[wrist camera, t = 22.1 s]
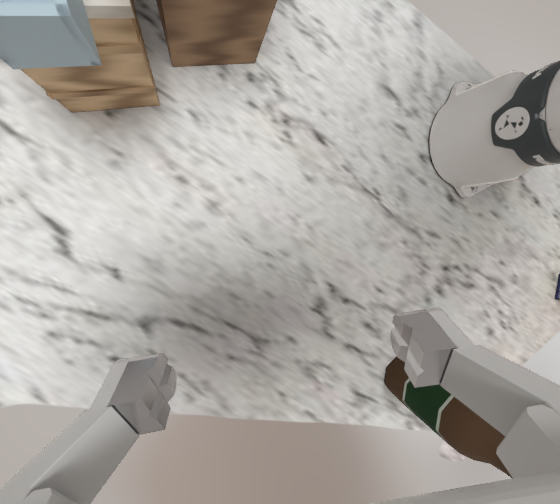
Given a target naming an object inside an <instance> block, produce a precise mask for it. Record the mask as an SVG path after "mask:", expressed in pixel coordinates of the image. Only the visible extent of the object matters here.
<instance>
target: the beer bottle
mask: <svg viewBox="0 0 560 504" xmlns="http://www.w3.org/2000/svg"><path fill="white" fill-rule="evenodd" d="M404 367H405V362H404V361H402V360H401V359H399V358H398V357H396V358H395V359H394V360H393V361H392V362H391V364H390V365H389V366H388V367H387V369H386V376H385V385H386V386H387V387H388V388H389V389H390V391H391V392H392V393H393V394H394V395H395V396H396V397H397V398H398V399H399V400H400V401H401V402H402V403H403V404H404V405H405V406H406V407H407V408H409V409H410V410H411V411H412V412H413V413H414V414H415V415H416V416H418V417H419V418H420V419H421V420H422V421H423V422H424V423H425V424H426V425H428V426H429V427H430V428H431V429H432V430H433V431H434V432H435V433H437V434H438V435H439V436H440V437H441V438H442V439H443V440H444V441H445V442H447V443H448V444H449V445H450V446H451V447H453V448H454V449H455V450H457V451H458V452H459V453H460V454H462V455H465V456H467V457H469V458H471V459H473V460H476V461H481V462H485V463H490V464H492V465H493V466H495V467H497V468H498V469H500V470H501V471H503V472H504V473H506V474H507V475H508V476H510V477H511V478H512V476H511V475H510V473H509V472H508V470H507V469H506V467H505V466H504V464H503V463H502V461H501V460H500V458H499V457H498V455H497V454H496V451H497V447H498V446H499V444H500V443H501V442H502V440H503V439H504V438H505V436H504V435H503V434H502V433H500V432H499V431H498V430H496V429H495V428H494V427H493V426H491V425H490V424H489V423H487V422H486V421H485V420H484V419H482V418H481V417H480V416H479V415H477V414H476V413H475V412H473V411H472V410H471V409H470V408H468V407H467V406H466V405H464V404H463V403H462V402H461V401H459V400H458V399H457V398H455V397H454V396H453V395H452V394H450V393H449V392H448V391H446V390H445V389H444V388H443V387H441V386H440V385H441V384H438V385H431V386H424V387H417V388H415V387H414V386H413V384H412V382H411V380H410V379H409V377H408V375H407V373H406V372H405V370H404ZM512 479H513V478H512Z"/></svg>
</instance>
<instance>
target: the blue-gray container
mask: <svg viewBox="0 0 560 504" xmlns="http://www.w3.org/2000/svg"><path fill="white" fill-rule="evenodd" d="M0 58H1V59H2V60H3V61H4V62H6V63H7V64H8V65H9V66H10V67H12V68H13V69H27V68H51V67H75V66H100V65H102V63H101V60H100V57H99V53H98V50H97V47H96V43H95V40H94V37H93V33H92V30H91V26H90V23H89V20H88V16H87V13H86V10H85V6H84V3H83V0H0Z"/></svg>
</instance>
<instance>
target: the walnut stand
mask: <svg viewBox="0 0 560 504" xmlns="http://www.w3.org/2000/svg"><path fill="white" fill-rule="evenodd" d="M156 2H157V6H158V10H159V14H160V18H161V22H162V26H163V30H164V34H165V38H166V42H167V46H168V50H169V54H170V58H171V62H172V66H173V67H178V66H200V65H222V64H244V63H255V61H256V58H257V55H258V52H259V50H260V47H261V44H262V41H263V38H264V35H265V33H266V30H267V27H268V24H269V21H270V19H271V16H272V13H273V10H274V7H275V4H276V2H277V0H156Z"/></svg>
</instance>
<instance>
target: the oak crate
mask: <svg viewBox="0 0 560 504" xmlns="http://www.w3.org/2000/svg"><path fill="white" fill-rule="evenodd" d="M83 3H84V6H85V10H86V13H87V16H88V20H89V23H90V26H91V30H92V33H93V37H94V40H95V43H96V47H97V50H98V53H99V57H100V60H101V63H102V65H100V66H75V67H51V68H27V69H21V70H22V71H23V72H24V73H25V74H27V75H28V76H29V77H30V78H31V79H33V80H34V81H35V82H36V83H37V84H38V85H40V86H41V87H42V88H43V89H44V90H46V93H47V95H48V96H49V97H50V98H52V99H56V100H57V101H59V102H60V103H61V104H62V105H63V106H64V107H66V108H67V109H68V110H69V111H70V112H82V111H94V110H107V109H119V108H131V107H143V106H155V105H160V104H159V100H158V96H157V93H156V92H157V91H156V87H155V83H154V80H153V76H152V72H151V68H150V64H149V61H148V57H147V53H146V49H145V46H144V42H143V38H142V34H141V30H140V27H139V23H138V19H137V15H136V12H135V8H134V4H133V0H83Z"/></svg>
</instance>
